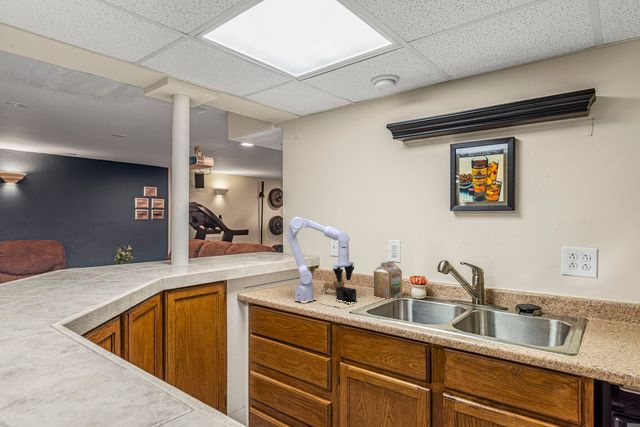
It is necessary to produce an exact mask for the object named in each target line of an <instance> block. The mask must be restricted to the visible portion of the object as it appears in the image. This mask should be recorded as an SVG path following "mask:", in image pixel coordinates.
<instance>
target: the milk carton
mask: <svg viewBox="0 0 640 427" xmlns="http://www.w3.org/2000/svg"><path fill="white" fill-rule="evenodd" d="M402 272H403V271H402V269H401V268H400V267H399V266H398V265H397V264H395V261H394V260H391V261H384V262H380V265H379V266H378V267H376V268H375V269H374V270H373V297H374V296H376V297H380V298H379V299H381V298H385V299H390V298H395V297H400V296H402V297H403V281H402V280H403V275H402V274H403V273H402ZM376 297H375V298H376ZM385 299H384V300H385Z"/></svg>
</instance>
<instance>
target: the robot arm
mask: <svg viewBox="0 0 640 427" xmlns="http://www.w3.org/2000/svg"><path fill="white" fill-rule="evenodd" d="M302 228H305V229H306V228H310V229H314V230H315V231H319V232H321V233H323V234H324V236H325V237H327V238H329V239H330V240H333V241H337V242H338V243H337V244H338V246H337V262H338V263H336V264H333V265H332V266H333V267H332V271H333V272H334V275H335V278H336V281H337V282H341V281H342V278H343V272H344V270H345V278H346V281H351V278H352V274H353V272H354V270H355V266H354V265H355V264H354V261H350V245H349V241H350V236H349V234H348V233H347V232H345V231H343V230H342V229H337V228H336V227H334V225H329V226H324V225H322V224H319V223H318V222H315V221H313V220H310V219H307V218H302V217H300V216H295V217H293V218H292V219H291V221H290V223H289V225H288V229H287V233H286V238H287V241H288V242H289V243H288V244H289V246H290V249H291V251H292V255H293V257H294V260H295V263H296V266H297V268H298V273H299V275H300V277H299V280H300V281H299V283H298V285H296V286H295V288H294V300H298V301H307V300H313V299H314V282H313V274H312V271H311V270H310V269H309V268H308V266H307V262H306V260H305V258H304V257H305V256H304V254H303V251H302V249H301V246H300V243H299V240H298V238H297V235H298V233H299V232H300V230H301V229H302ZM342 268H343V269H342Z"/></svg>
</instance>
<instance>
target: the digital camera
mask: <svg viewBox="0 0 640 427" xmlns="http://www.w3.org/2000/svg"><path fill="white" fill-rule="evenodd" d="M335 297H336V300H337V299H338V300H342V301H346V302H350V303H351V302H356V303H357V289H356V288H351V287H345V286H344V287H337V288H336V295H335Z"/></svg>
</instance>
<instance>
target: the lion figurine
mask: <svg viewBox="0 0 640 427" xmlns="http://www.w3.org/2000/svg"><path fill="white" fill-rule="evenodd" d="M345 285H346V284H345V280H344V279H342V281H341V282H337V280H335V281H334V282H330V281H326V282H325V283H324V284H323V289H322V290H321V291H320V292H322V293H323V292H325V293H324V294H326V293H328V292H327V291H328V289H329V290H332V291H334V294H336V288H337V287H345Z"/></svg>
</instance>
